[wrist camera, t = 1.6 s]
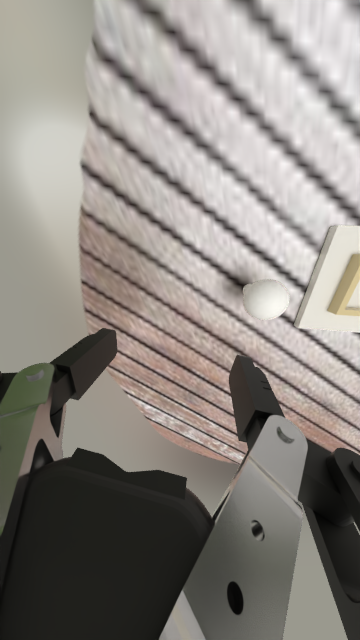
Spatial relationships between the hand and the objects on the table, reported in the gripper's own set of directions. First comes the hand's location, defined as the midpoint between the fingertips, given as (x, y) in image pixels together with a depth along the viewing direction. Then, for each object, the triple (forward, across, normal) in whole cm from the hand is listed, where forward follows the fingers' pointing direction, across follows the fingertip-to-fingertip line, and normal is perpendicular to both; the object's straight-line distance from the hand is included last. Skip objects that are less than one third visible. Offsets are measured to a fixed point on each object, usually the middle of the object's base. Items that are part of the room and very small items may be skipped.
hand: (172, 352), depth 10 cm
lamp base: (+25, -30, -4) cm, 40 cm away
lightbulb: (+24, -10, 0) cm, 26 cm away
